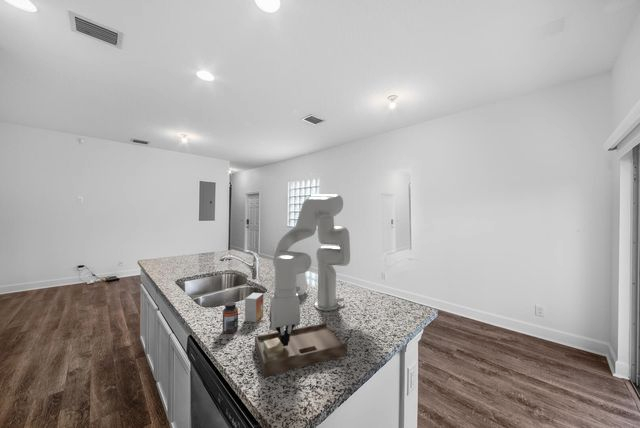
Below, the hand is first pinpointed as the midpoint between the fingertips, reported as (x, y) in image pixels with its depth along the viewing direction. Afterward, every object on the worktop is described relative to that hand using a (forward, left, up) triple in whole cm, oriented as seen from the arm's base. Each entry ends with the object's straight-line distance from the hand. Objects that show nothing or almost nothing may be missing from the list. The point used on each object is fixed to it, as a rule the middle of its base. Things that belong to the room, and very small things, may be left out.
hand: (284, 344), depth 85 cm
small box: (+5, -33, -4) cm, 34 cm away
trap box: (-6, 0, -4) cm, 7 cm away
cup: (-24, -58, -4) cm, 63 cm away
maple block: (+4, +1, -1) cm, 4 cm away
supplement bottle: (+16, -25, -4) cm, 30 cm away
